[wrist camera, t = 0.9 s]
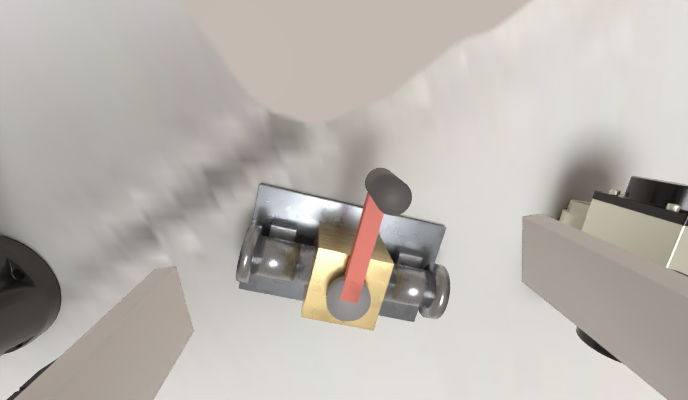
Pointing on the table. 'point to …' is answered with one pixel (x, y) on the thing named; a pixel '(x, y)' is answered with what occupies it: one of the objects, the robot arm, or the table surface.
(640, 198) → the ball valve
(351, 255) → the lever
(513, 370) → the table surface
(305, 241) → the valve assembly
